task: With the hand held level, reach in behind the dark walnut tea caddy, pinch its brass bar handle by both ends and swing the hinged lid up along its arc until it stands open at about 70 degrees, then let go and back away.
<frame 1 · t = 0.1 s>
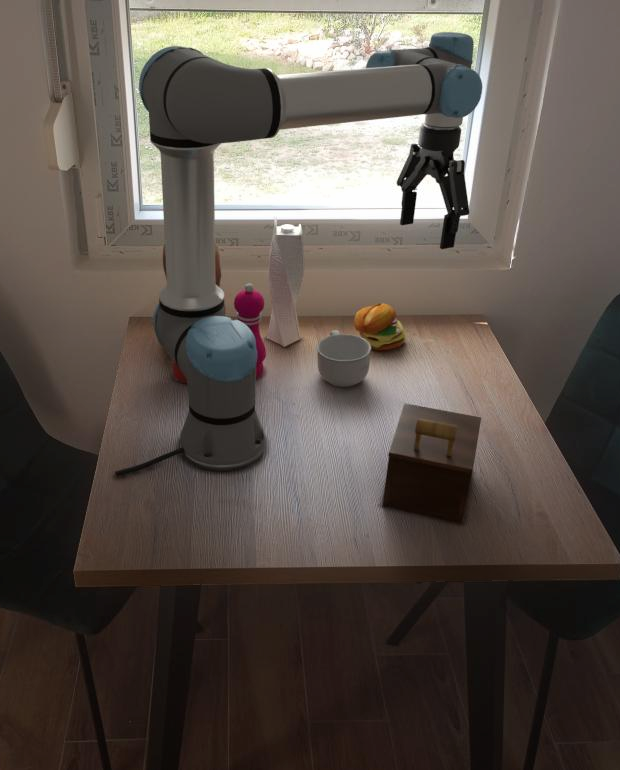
hand: (425, 235, 156), 28 cm above the table, tool pointing down, fingers open, 13 cm apart
cheeseburger: (378, 343, 177), on the table
caddy: (427, 489, 134), on the table
beer can: (189, 377, 163), on the table
butternut squash: (196, 340, 177), on the table
teacup: (340, 376, 165), on the table
lid: (438, 422, 126), point 14 cm above the table, hinge at 0.0°
skyscraper: (282, 339, 178), on the table
pepper mill: (248, 372, 165), on the table
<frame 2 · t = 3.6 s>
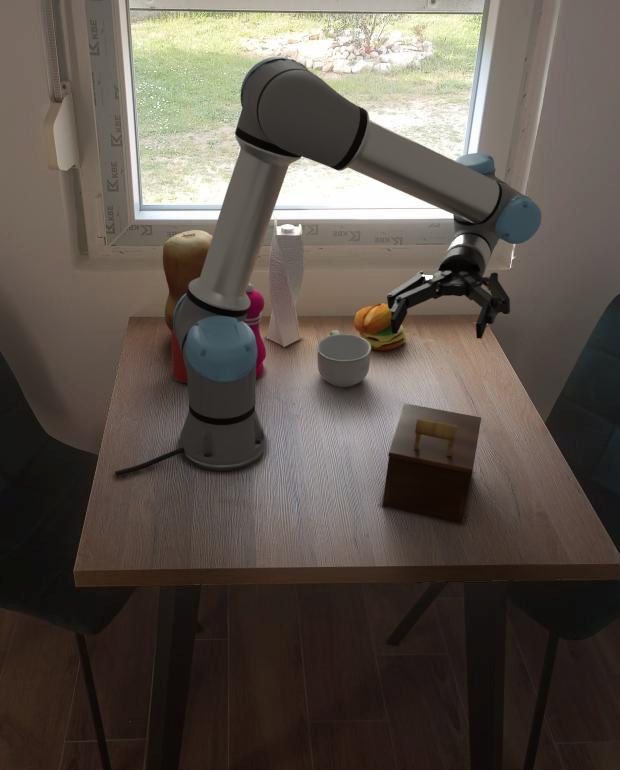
hand: (435, 329, 126), 27 cm above the table, tool horizontal, fingers open, 13 cm apart
nothing on the table moved.
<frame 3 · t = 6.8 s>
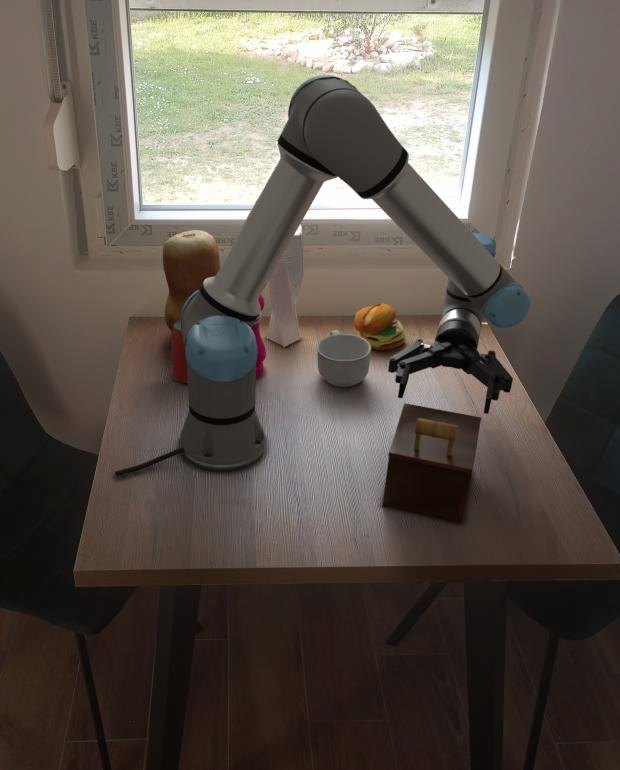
hand: (443, 398, 126), 17 cm above the table, tool horizontal, fingers open, 13 cm apart
nothing on the table moved.
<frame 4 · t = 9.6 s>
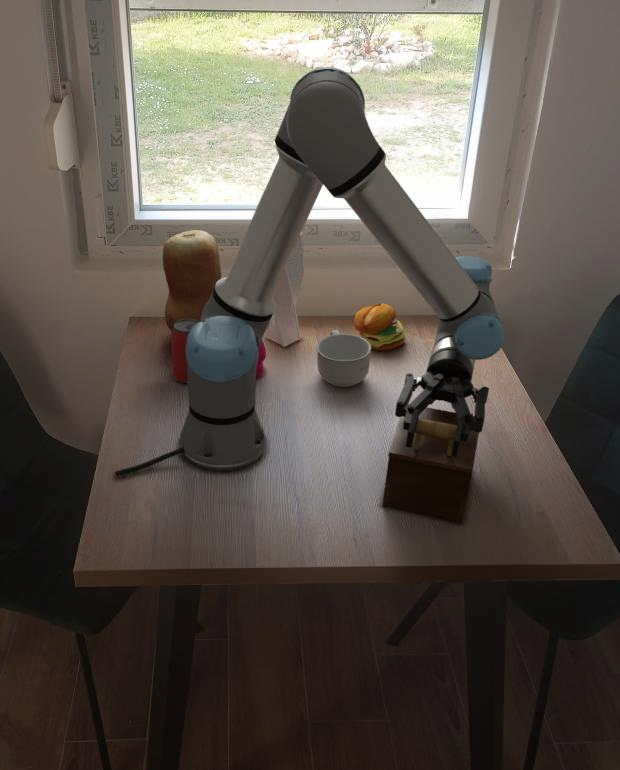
hand: (432, 444, 116), 17 cm above the table, tool horizontal, fingers closed on lid, 6 cm apart
lid: (438, 422, 126), point 14 cm above the table, hinge at 0.0°, touching gripper
everything else where it was.
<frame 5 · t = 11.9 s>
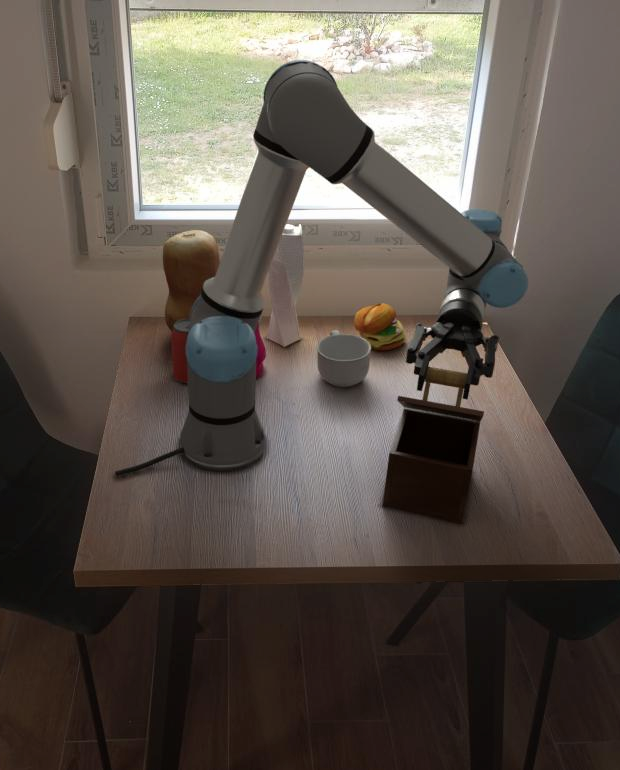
hand: (443, 387, 117), 23 cm above the table, tool horizontal, fingers closed on lid, 6 cm apart
lid: (444, 392, 126), point 18 cm above the table, hinge at 36.0°, touching gripper
everything else where it was.
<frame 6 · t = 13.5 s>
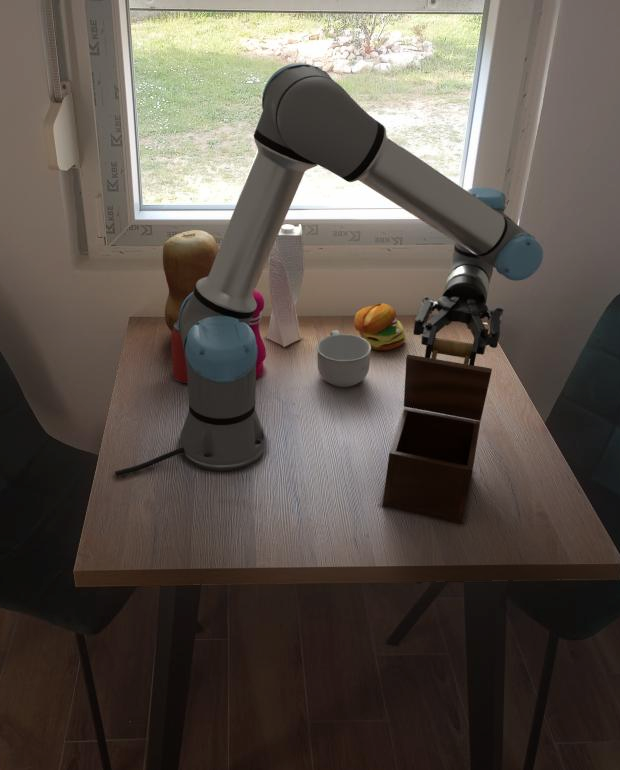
hand: (450, 355, 121), 25 cm above the table, tool horizontal, fingers closed on lid, 6 cm apart
lid: (448, 374, 128), point 19 cm above the table, hinge at 63.1°, touching gripper
everything else where it was.
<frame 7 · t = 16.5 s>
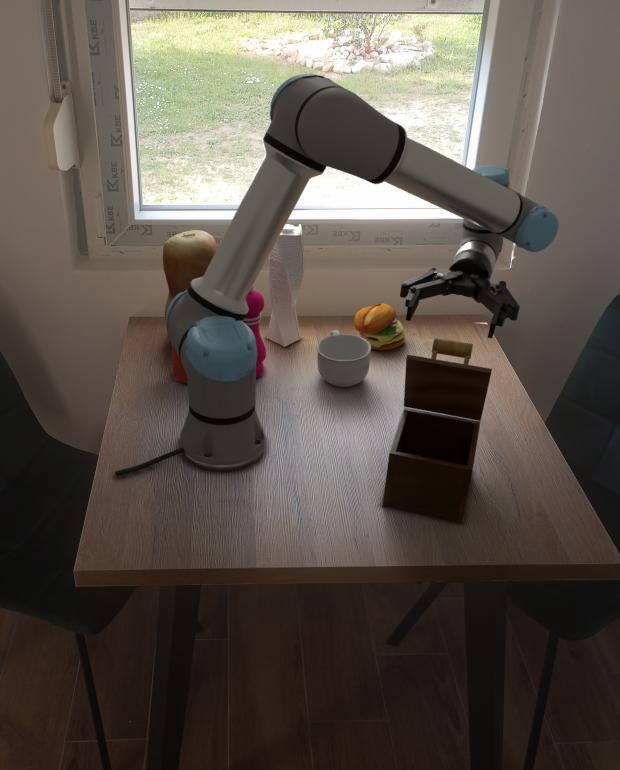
hand: (449, 322, 131), 25 cm above the table, tool horizontal, fingers open, 13 cm apart
lid: (448, 375, 128), point 19 cm above the table, hinge at 63.0°
everything else where it was.
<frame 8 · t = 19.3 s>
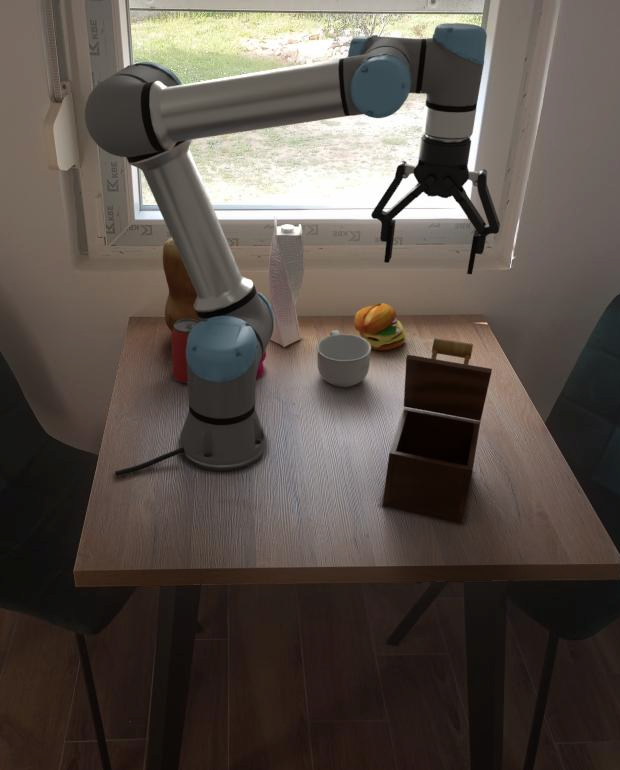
hand: (428, 265, 132), 33 cm above the table, tool pointing down, fingers open, 13 cm apart
nothing on the table moved.
at the end: lid at +63° (first picture: +0°); the gripper is holding nothing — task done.
